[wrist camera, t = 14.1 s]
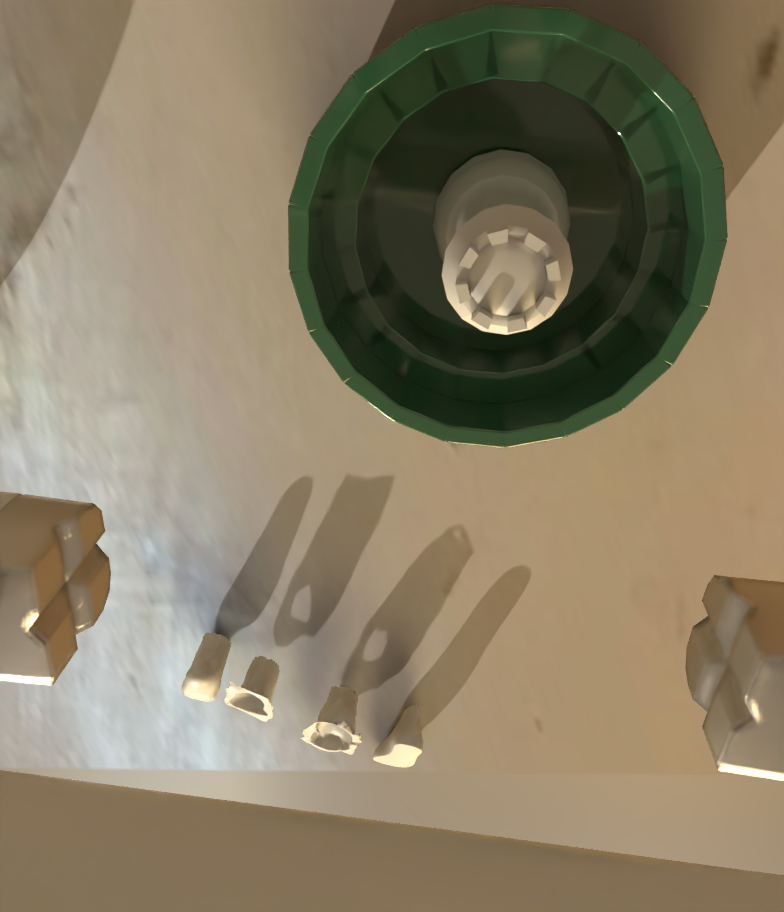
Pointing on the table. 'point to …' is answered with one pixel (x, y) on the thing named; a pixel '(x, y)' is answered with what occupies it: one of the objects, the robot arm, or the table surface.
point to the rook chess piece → (504, 241)
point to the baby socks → (333, 719)
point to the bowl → (590, 237)
